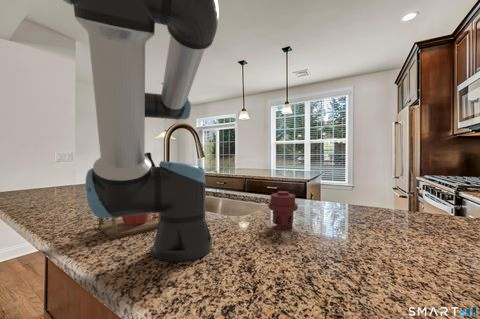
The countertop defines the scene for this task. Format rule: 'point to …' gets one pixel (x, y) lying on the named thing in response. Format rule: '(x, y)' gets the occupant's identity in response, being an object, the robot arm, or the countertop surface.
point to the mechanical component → (283, 209)
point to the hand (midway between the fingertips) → (130, 199)
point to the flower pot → (135, 219)
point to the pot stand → (126, 227)
